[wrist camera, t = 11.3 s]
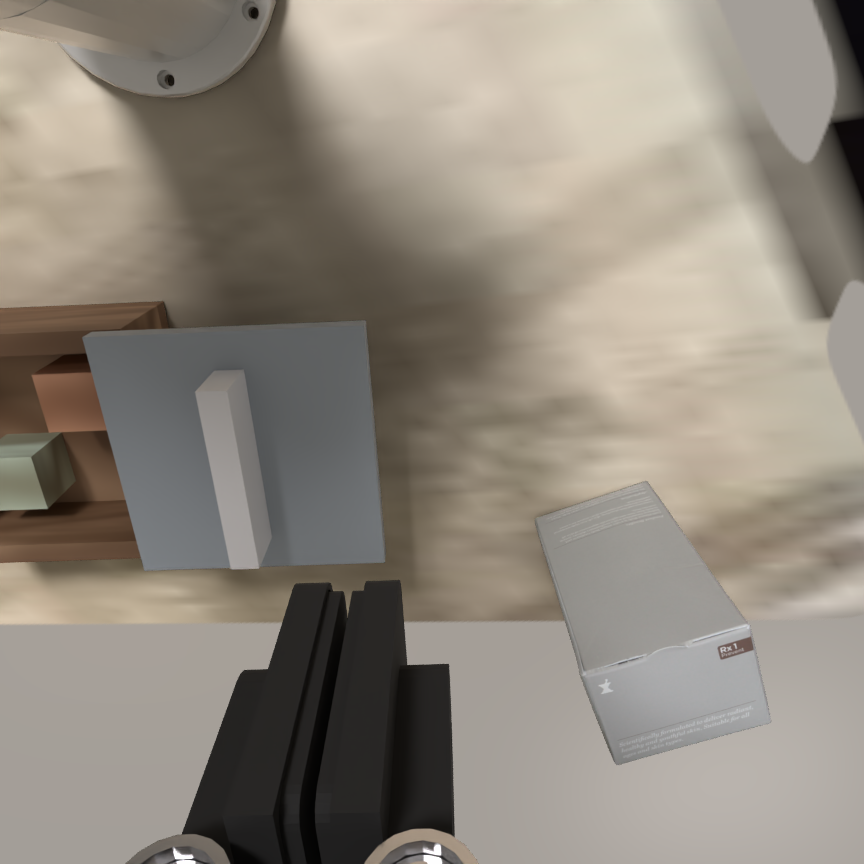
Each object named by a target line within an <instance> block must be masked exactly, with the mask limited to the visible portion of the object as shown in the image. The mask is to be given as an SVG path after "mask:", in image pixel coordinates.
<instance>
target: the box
mask: <svg viewBox="0 0 864 864" xmlns="http://www.w3.org/2000/svg"><path fill="white" fill-rule="evenodd" d="M147 329H169V326H168V322H167V317H166V312H165V307H164V303H163V301H162V302H139V303H116V304H92V305H69V306H46V307H23V308H0V563H10V562H39V561H69V560H98V559H128V558H141V556H140V552H139V549H138V545H137V541H136V537H135V534H134V530H133V526H132V522H131V519H130V515H129V511H128V507H127V504H126V500H125V496H124V492H123V489H122V485H121V481H120V477H119V474H118V470H117V466H116V462H115V459H114V455H113V451H112V447H111V444H110V440H109V436H108V432H107V429H106V425H105V421H104V417H103V414H102V410H101V406H100V402H99V399H98V395H97V391H96V387H95V384H94V380H93V376H92V372H91V369H90V365H89V361H88V357H87V354H86V350H85V346H84V342H83V339H82V337H84V336H85V335H87V334H89V333H90V332H99V331H123V330H147Z"/></svg>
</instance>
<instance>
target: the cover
mask: <svg viewBox="0 0 864 864" xmlns="http://www.w3.org/2000/svg"><path fill="white" fill-rule="evenodd" d="M82 339H83V342H84V346H85V350H86V354H87V357H88V361H89V365H90V369H91V372H92V376H93V380H94V384H95V387H96V391H97V395H98V399H99V402H100V406H101V410H102V414H103V417H104V421H105V425H106V429H107V432H108V436H109V440H110V444H111V447H112V451H113V455H114V459H115V462H116V466H117V470H118V474H119V477H120V481H121V485H122V489H123V492H124V496H125V500H126V504H127V507H128V511H129V515H130V519H131V522H132V526H133V530H134V534H135V537H136V541H137V545H138V549H139V552H140V556H141V560H142V564H143V567H144V571H150V570H180V569H210V568H231V570H234V569H259V568H260V567H269V566H299V565H329V564H359V563H385V556H386V548H385V536H384V525H383V513H382V502H381V490H380V479H379V467H378V456H377V444H376V433H375V421H374V410H373V398H372V387H371V375H370V363H369V352H368V340H367V329H366V320H360V321H337V322H313V323H289V324H265V325H242V326H218V327H194V328H170V329H147V330H123V331H99V332H90V333H89V334H87V335H85V336H84V337H82Z"/></svg>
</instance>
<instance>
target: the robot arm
mask: <svg viewBox="0 0 864 864" xmlns="http://www.w3.org/2000/svg"><path fill="white" fill-rule="evenodd" d="M275 4H276V0H0V30H3V31H8V32H12V33H17V34H21V35H26V36H30V37H35V38H39V39H44V40H48V41H53V42H57V43H58V44H59V45H60V46H61V48H62V49H63V50H64V51H65V52H66V53H67V54H68V55H69V56H70V57H71V58H72V59H73V60H75V61H76V62H77V63H78V64H80V65H81V66H82V67H84V68H85V69H86V70H88V71H89V72H90V73H91V74H93V75H94V76H96V77H98V78H100V79H102V80H104V81H106V82H107V83H109V84H111V85H113V86H115V87H117V88H120V89H123V90H127V91H130V92H133V93H136V94H139V95H145V96H152V97H185V96H190V95H194V94H199V93H203V92H205V91H207V90H209V89H211V88H214V87H216V86H218V85H220V84H222V83H224V82H225V81H226V80H228V79H229V78H230V77H231V76H233V75H234V74H235V73H236V72H238V71H239V70H240V69H241V68H242V67H243V66H244V65H245V63H246V62H247V61H248V60H249V59H250V57H251V56H252V55H253V54H254V53H255V51H256V50H257V48H258V46H259V44H260V42H261V40H262V39H263V37H264V35H265V33H266V31H267V29H268V26H269V23H270V20H271V17H272V13H273V10H274V7H275ZM253 8H257V9H258V11H259V16H258V18H256V19H252V18H251V15H250V12H251V10H252V9H253ZM170 75H172V76H173V77H174V79H175V80H174V85H173V86H170V85H169V83H168V77H169V76H170ZM450 697H451V696H450V675H449V664H432V665H407V657H406V644H405V630H404V617H403V604H402V592H401V583H400V580H391V581H366V583H365V587H364V591H353V592H352V596H351V602H350V607H349V613H348V618H347V610H346V602H345V595H344V592H343V591H335V592H333V589H332V586H331V583H299V584H295V585H294V588H293V590H292V594H291V597H290V600H289V603H288V606H287V610H286V613H285V616H284V619H283V623H282V626H281V629H280V632H279V635H278V639H277V642H276V645H275V649H274V652H273V655H272V658H271V661H270V665H269V668H268V669H263V670H244V671H243V672H242V673H241V674H240V676H239V678H238V680H237V682H236V685H235V688H234V691H233V693H232V696H231V699H230V702H229V705H228V707H227V710H226V713H225V716H224V718H223V721H222V724H221V727H220V729H219V732H218V735H217V738H216V741H215V743H214V746H213V749H212V752H211V754H210V757H209V760H208V763H207V766H206V768H205V771H204V774H203V777H202V779H201V782H200V785H199V788H198V791H197V794H196V796H195V799H194V802H193V805H192V807H191V810H190V813H189V816H188V819H187V821H186V824H185V827H184V829H183V832H182V835H175V836H172V837H168V838H166V839H162V840H159V841H157V842H155V843H153V844H151V845H150V846H148V847H146V848H145V849H143V850H141V851H139V852H138V853H137V854H136V855H135V856H134V857H132V858H131V859H130V860H129V861H128V862H127V863H126V864H478V861H477V859H476V858H475V857H474V855H473V854H472V853H471V852H470V850H469V849H468V848H467V847H466V845H465V844H463V843H462V842H460V841H459V840H457V839H456V838H455V836H454V835H455V833H454V795H453V794H454V792H453V754H452V723H451V698H450Z"/></svg>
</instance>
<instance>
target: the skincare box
mask: <svg viewBox="0 0 864 864" xmlns="http://www.w3.org/2000/svg"><path fill="white" fill-rule="evenodd" d="M535 525H536V528H537V531H538V535H539V538H540V541H541V545H542V548H543V551H544V554H545V558H546V561H547V564H548V567H549V571H550V574H551V577H552V580H553V584H554V587H555V590H556V594H557V597H558V600H559V603H560V606H561V610H562V613H563V616H564V620H565V623H566V626H567V629H568V633H569V636H570V639H571V642H572V645H573V649H574V652H575V655H576V659H577V663H578V668H579V673H580V676H581V679H582V681H583V684H584V687H585V690H586V692H587V695H588V698H589V700H590V703H591V705H592V708H593V711H594V713H595V716H596V719H597V721H598V723H599V726H600V728H601V731H602V733H603V736H604V738H605V741H606V743H607V745H608V748H609V751H610V753H611V755H612V758H613V760H614V762H615V764H616V765H620V764H623V763H627V762H630V761H634V760H637V759H641V758H644V757H648V756H651V755H655V754H659V753H662V752H666V751H670V750H673V749H676V748H680V747H684V746H688V745H691V744H695V743H699V742H702V741H706V740H709V739H713V738H717V737H720V736H724V735H728V734H731V733H735V732H739V731H742V730H746V729H750V728H754V727H758V726H761V725H765V724H769V723H771V718H770V713H769V708H768V703H767V698H766V694H765V689H764V685H763V680H762V675H761V671H760V666H759V662H758V657H757V653H756V648H755V644H754V640H753V636H752V631H751V627H750V624H749V623H748V622H747V621H746V619H745V618H744V617H743V616H742V614H741V613H740V611H739V610H738V608H737V607H736V606H735V604H734V603H733V602H732V600H731V599H730V598H729V596H728V595H727V594H726V592H725V591H724V589H723V588H722V586H721V585H720V584H719V582H718V581H717V579H716V578H715V577H714V575H713V574H712V573H711V571H710V570H709V569H708V567H707V565H706V564H705V562H704V561H703V559H702V558H701V557H700V555H699V554H698V552H697V551H696V550H695V548H694V547H693V545H692V544H691V542H690V541H689V540H688V538H687V537H686V535H685V534H684V533H683V531H682V530H681V528H680V527H679V525H678V524H677V523H676V521H675V520H674V518H673V517H672V515H671V514H670V512H669V511H668V510H667V508H666V507H665V505H664V504H663V502H662V501H661V500H660V498H659V497H658V495H657V494H656V493H655V491H654V490H653V489H652V487H651V486H650V484H649V483H648V482H647V481H645V482H641V483H638V484H636V485H633V486H630V487H627V488H624V489H621V490H618V491H615V492H612V493H609V494H606V495H603V496H600V497H597V498H594V499H591V500H588V501H585V502H582V503H579V504H576V505H573V506H570V507H567V508H564V509H561V510H558V511H555V512H552V513H549V514H546V515H544V516H541V517H538V518H536V519H535Z"/></svg>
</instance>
